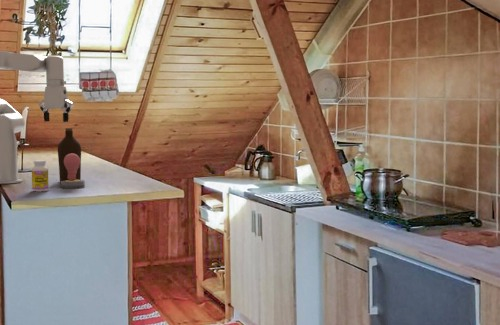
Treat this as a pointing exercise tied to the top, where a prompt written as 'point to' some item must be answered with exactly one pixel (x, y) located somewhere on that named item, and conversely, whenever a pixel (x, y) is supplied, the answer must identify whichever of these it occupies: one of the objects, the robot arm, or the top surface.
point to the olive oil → (65, 148)
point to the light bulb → (72, 165)
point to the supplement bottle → (39, 176)
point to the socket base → (73, 183)
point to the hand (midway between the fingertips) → (56, 121)
